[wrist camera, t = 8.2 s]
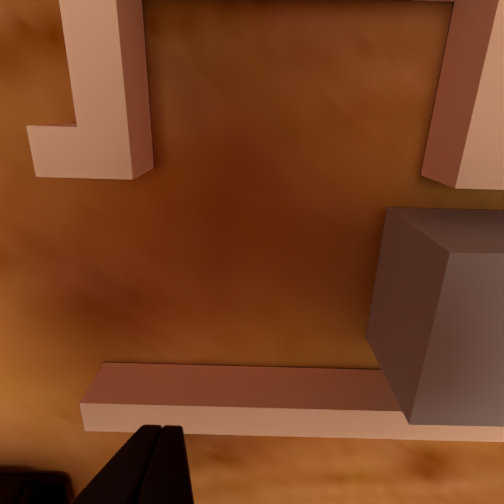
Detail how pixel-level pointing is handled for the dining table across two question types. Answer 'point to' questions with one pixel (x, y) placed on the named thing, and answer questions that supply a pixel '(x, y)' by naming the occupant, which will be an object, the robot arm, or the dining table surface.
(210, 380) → the white tray
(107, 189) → the dining table surface
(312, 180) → the dining table surface
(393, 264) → the slate block
